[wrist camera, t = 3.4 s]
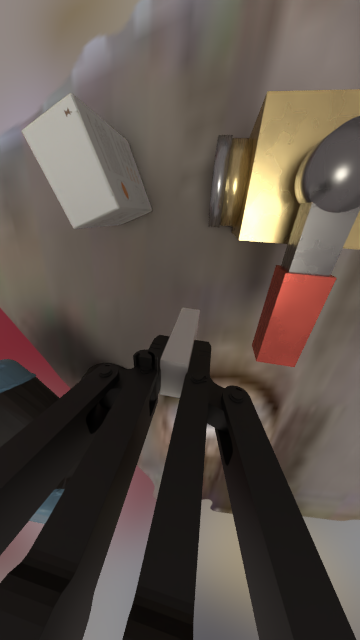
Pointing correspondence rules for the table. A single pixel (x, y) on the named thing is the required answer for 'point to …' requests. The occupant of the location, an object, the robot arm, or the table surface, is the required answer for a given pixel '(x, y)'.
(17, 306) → the table surface
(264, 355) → the lever
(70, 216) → the small box
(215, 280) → the table surface
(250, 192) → the valve body
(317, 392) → the table surface
